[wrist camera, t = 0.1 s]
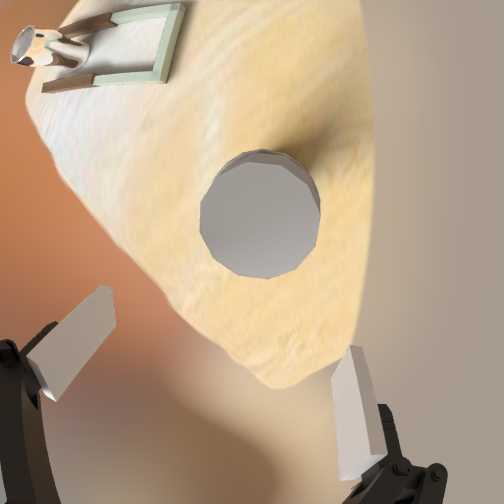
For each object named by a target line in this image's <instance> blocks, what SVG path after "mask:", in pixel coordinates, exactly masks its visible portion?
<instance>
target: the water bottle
mask: <svg viewBox="0 0 504 504" xmlns="http://www.w3.org/2000/svg"><path fill="white" fill-rule="evenodd" d="M320 216H321V215H320V198H319V194H318V190H317V188H316V185H315V183H314V181H313V179H312V178H311V176H310V175H309V173H308V172H307V171H306V170H305V168H304V167H303V166H302V165H301V164H300V163H299V162H297V161H296V160H295V159H293V158H292V157H291V156H289V155H288V154H287V153H280V152H275V151H270V150H265V149H259V150H254V151H249V152H244V153H241V154H240V155H238V156H237V157H235V158H233V159H232V160H230V161H229V162H227V163H226V164H225V165H224V167H223V168H222V169H221V170H220V172H219V173H218V174H217V175H216V176H215V178H214V180H213V182H212V184H211V187H210V188H209V190H208V191H207V193H206V194H205V196H204V198H203V199H202V201H201V206H200V234H201V236H202V237H203V239H204V241H205V243H206V245H207V247H208V249H209V251H210V253H211V255H212V256H213V258H214V259H215V260H217V261H218V262H219V263H221V264H222V265H224V266H225V267H227V268H228V269H230V270H231V271H232V272H234V273H235V274H237V275H239V276H246V277H254V278H261V279H270V278H273V277H276V276H279V275H281V274H284V273H287V272H290V271H292V270H295V269H296V268H297V267H298V266H299V265H300V264H301V263H302V261H303V260H304V259H305V258H306V257H307V256H308V254H309V253H310V252H311V251H312V250H313V249H314V247H315V246H316V240H317V234H318V228H319V222H320Z"/></svg>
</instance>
